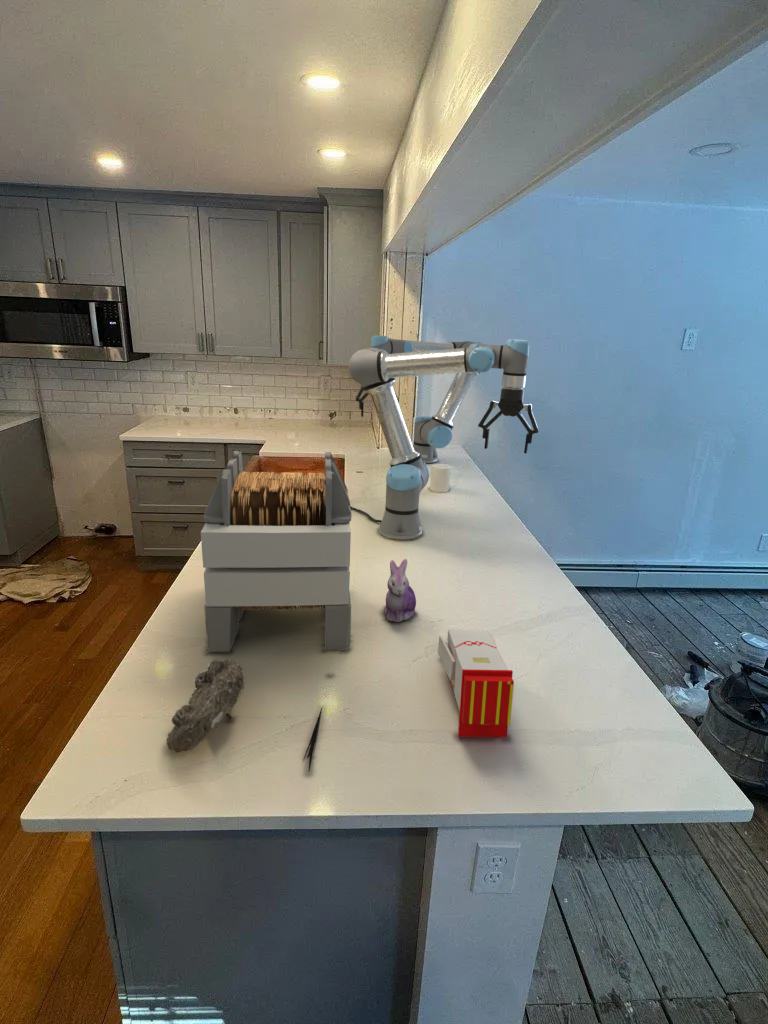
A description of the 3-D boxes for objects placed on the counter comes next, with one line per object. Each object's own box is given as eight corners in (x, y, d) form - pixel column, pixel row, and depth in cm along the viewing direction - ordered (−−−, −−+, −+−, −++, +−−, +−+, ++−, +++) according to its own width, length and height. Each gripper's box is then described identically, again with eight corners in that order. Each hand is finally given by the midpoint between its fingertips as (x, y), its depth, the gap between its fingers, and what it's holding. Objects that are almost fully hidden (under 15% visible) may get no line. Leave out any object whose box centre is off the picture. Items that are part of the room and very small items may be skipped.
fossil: (192, 660, 117) (244, 628, 112) (224, 691, 120) (276, 661, 115) (142, 746, 98) (202, 712, 93) (182, 779, 101) (242, 748, 96)
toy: (488, 613, 130) (523, 677, 101) (484, 667, 133) (517, 744, 104) (435, 612, 130) (455, 676, 101) (432, 666, 133) (451, 743, 103)
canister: (452, 489, 252) (454, 466, 248) (441, 493, 246) (442, 469, 243) (437, 485, 257) (439, 462, 254) (425, 488, 251) (427, 465, 248)
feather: (331, 679, 122) (336, 673, 122) (307, 777, 96) (313, 769, 95) (324, 675, 122) (329, 669, 121) (298, 772, 95) (304, 764, 95)
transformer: (227, 584, 158) (219, 441, 145) (344, 583, 162) (347, 443, 148) (205, 654, 127) (191, 480, 113) (351, 650, 130) (355, 481, 117)
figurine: (392, 627, 141) (395, 572, 136) (374, 608, 149) (376, 556, 144) (425, 619, 145) (429, 566, 140) (405, 601, 154) (408, 550, 149)
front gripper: (552, 389, 189) (543, 452, 196) (477, 383, 196) (472, 443, 203) (550, 392, 182) (541, 456, 189) (473, 386, 189) (467, 448, 197)
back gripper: (351, 370, 256) (350, 417, 263) (406, 372, 259) (403, 418, 267) (350, 368, 263) (349, 414, 270) (403, 370, 266) (401, 415, 274)
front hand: (505, 450), depth 196 cm, fingers open, 13 cm apart
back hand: (376, 416), depth 269 cm, fingers open, 13 cm apart
